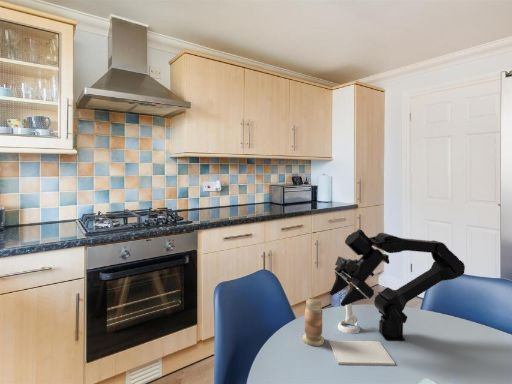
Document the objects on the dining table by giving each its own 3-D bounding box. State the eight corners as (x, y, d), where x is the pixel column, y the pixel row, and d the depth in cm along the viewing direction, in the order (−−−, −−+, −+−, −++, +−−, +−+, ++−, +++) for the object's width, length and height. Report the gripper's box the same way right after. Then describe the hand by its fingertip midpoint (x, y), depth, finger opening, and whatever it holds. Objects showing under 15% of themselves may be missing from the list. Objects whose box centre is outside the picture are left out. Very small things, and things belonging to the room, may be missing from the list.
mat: (379, 343, 100) (379, 341, 100) (394, 365, 88) (395, 363, 88) (329, 342, 101) (329, 340, 101) (338, 364, 89) (338, 362, 89)
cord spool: (321, 335, 105) (322, 297, 105) (325, 346, 98) (326, 305, 98) (301, 335, 105) (302, 297, 105) (304, 346, 99) (304, 305, 98)
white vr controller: (350, 304, 119) (360, 299, 114) (354, 338, 113) (365, 334, 107) (332, 301, 118) (342, 296, 112) (335, 335, 111) (345, 332, 105)
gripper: (339, 242, 112) (310, 275, 111) (363, 255, 93) (328, 294, 92) (360, 262, 113) (332, 295, 112) (388, 279, 94) (354, 318, 94)
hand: (335, 299), depth 102 cm, fingers open, 9 cm apart
